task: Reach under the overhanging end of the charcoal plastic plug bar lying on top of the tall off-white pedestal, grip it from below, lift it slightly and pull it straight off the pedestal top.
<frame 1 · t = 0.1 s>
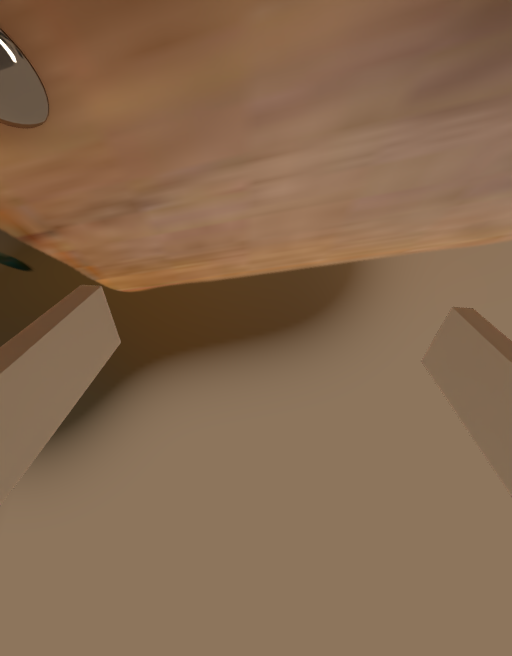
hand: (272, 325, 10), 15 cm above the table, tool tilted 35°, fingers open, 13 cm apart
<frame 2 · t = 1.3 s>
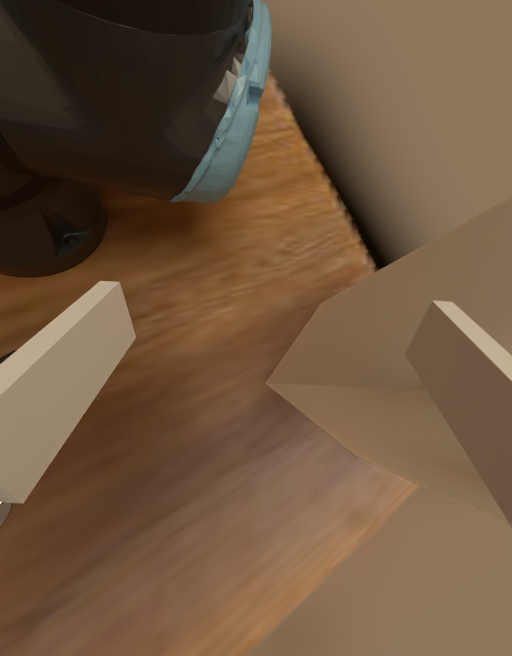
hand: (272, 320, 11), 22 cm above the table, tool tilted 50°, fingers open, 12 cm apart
pedestal: (338, 377, 36), on the table
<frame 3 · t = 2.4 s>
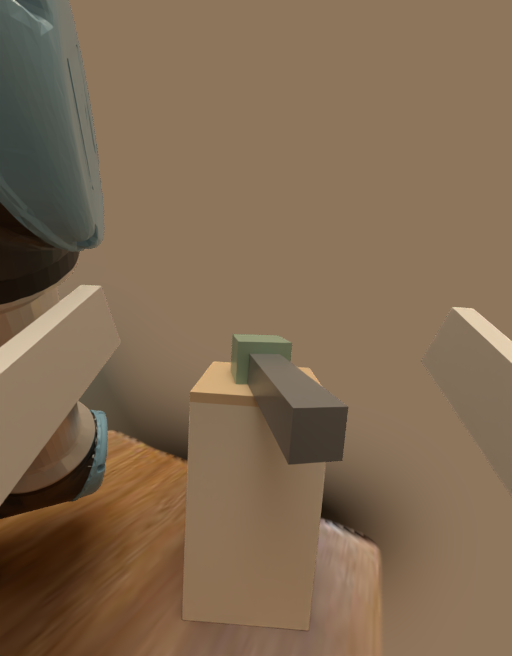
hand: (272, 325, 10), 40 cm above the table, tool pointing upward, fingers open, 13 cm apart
pedestal: (248, 567, 40), on the table
plug bar: (273, 399, 29), point 30 cm above the table, touching pedestal
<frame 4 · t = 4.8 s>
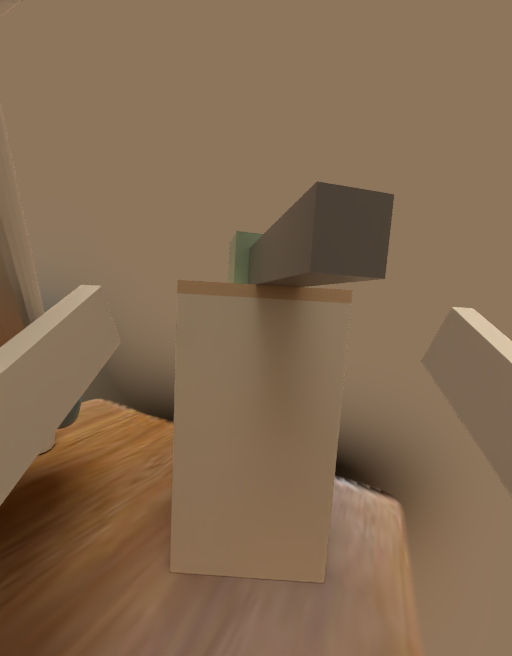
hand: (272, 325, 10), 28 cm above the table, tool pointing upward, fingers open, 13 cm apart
pedestal: (249, 520, 34), on the table
plug bar: (279, 285, 23), point 30 cm above the table, touching pedestal
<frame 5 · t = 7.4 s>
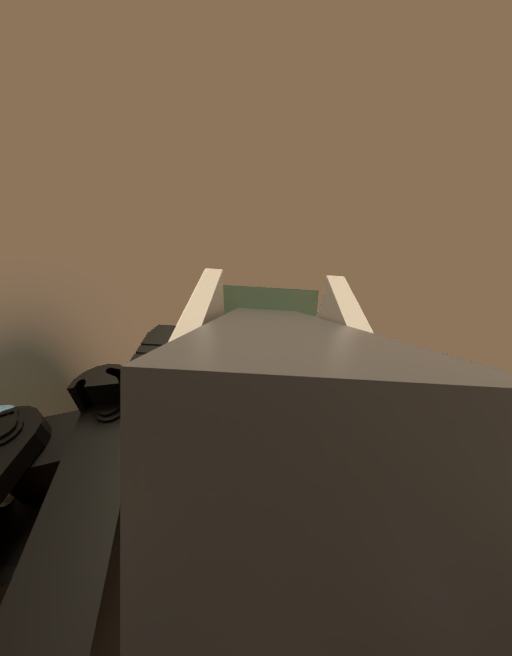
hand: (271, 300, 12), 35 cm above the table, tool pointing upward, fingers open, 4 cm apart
plug bar: (266, 389, 14), point 30 cm above the table, touching pedestal
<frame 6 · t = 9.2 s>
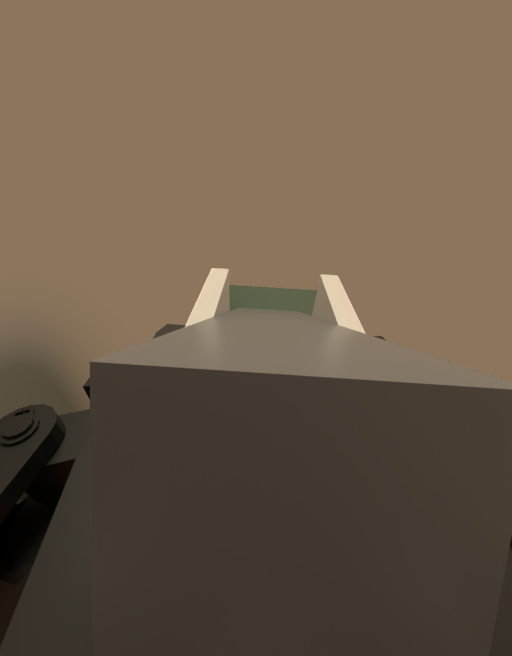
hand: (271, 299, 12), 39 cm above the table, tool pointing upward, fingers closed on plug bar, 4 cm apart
plug bar: (265, 388, 14), point 34 cm above the table, touching gripper
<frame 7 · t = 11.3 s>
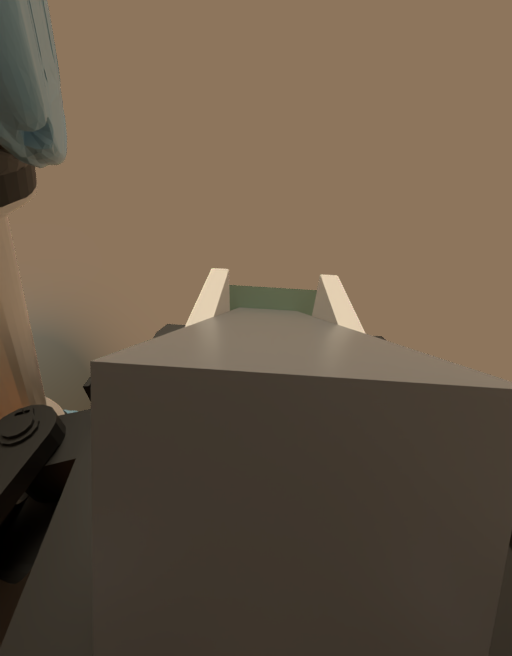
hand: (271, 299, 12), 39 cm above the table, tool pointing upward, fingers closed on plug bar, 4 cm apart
plug bar: (265, 388, 14), point 34 cm above the table, touching gripper
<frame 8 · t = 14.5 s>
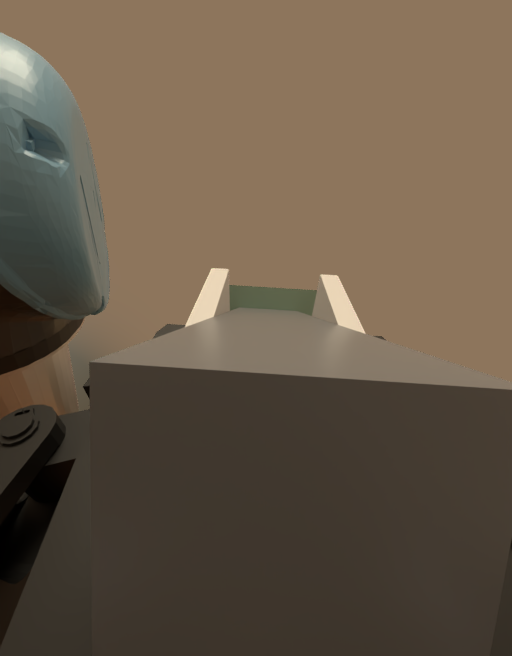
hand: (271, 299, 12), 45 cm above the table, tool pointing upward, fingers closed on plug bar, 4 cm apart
plug bar: (265, 388, 14), point 40 cm above the table, touching gripper
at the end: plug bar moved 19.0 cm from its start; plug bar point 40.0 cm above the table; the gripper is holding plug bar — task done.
